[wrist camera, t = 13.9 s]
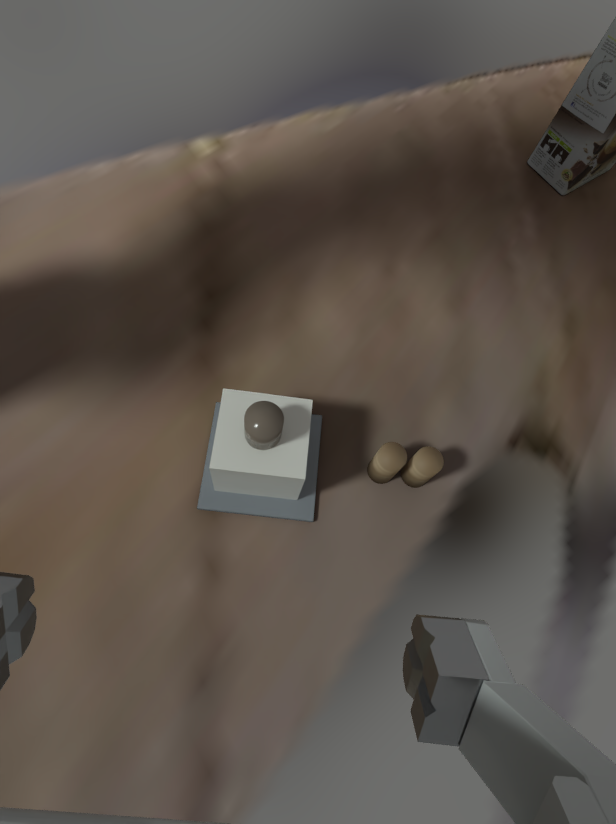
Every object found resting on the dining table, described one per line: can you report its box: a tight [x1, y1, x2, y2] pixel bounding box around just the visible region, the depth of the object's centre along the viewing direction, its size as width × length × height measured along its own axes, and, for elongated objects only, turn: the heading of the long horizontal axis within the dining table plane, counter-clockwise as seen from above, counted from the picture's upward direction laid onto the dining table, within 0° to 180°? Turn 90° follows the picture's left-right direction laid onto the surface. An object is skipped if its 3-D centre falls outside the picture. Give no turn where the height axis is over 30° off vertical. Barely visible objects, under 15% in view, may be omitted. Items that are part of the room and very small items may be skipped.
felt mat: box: [197, 402, 322, 522], centre depth 40 cm, size 9×9×1 cm
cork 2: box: [401, 446, 444, 488], centre depth 40 cm, size 2×2×4 cm
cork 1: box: [367, 442, 407, 484], centre depth 40 cm, size 2×2×4 cm
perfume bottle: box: [209, 388, 313, 500], centre depth 36 cm, size 6×6×8 cm
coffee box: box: [527, 17, 616, 195], centre depth 52 cm, size 9×6×16 cm
